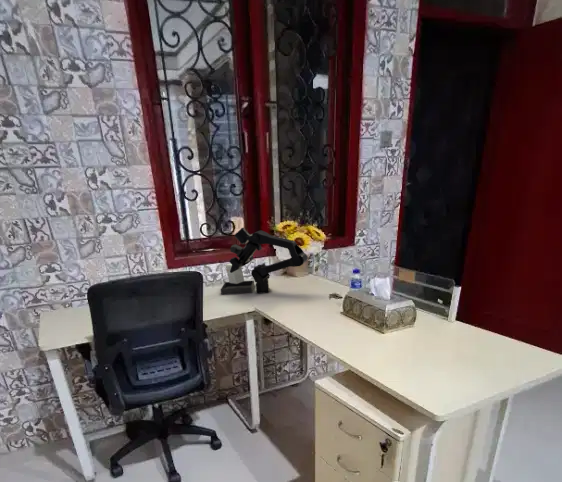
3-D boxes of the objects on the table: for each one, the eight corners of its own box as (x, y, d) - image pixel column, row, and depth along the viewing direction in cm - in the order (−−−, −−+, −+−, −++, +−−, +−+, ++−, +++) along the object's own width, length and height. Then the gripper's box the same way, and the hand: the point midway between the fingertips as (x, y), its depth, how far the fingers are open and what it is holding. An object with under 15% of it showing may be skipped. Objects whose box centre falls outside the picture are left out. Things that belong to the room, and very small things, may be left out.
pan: (254, 285, 242) (253, 280, 241) (251, 292, 231) (251, 287, 229) (225, 287, 244) (224, 282, 242) (221, 294, 232) (220, 289, 231)
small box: (244, 281, 234) (240, 262, 229) (236, 284, 231) (232, 265, 227) (237, 280, 240) (233, 262, 236) (229, 283, 237) (225, 264, 233)
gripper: (245, 236, 230) (231, 256, 239) (230, 243, 215) (215, 264, 224) (260, 250, 231) (245, 269, 240) (245, 258, 216) (230, 279, 225)
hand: (233, 270), depth 232 cm, fingers closed on small box, 7 cm apart
